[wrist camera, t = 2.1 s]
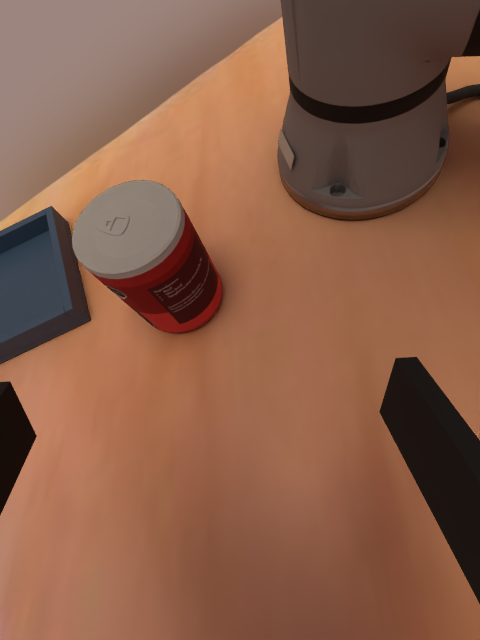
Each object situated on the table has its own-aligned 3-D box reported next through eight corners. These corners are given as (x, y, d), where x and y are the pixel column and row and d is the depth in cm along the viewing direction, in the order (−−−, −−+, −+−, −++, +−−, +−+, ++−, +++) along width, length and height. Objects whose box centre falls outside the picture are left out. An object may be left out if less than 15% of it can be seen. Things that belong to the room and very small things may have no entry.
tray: (68, 222, 41) (51, 205, 39) (90, 320, 35) (72, 308, 33) (-54, 281, 42) (-78, 269, 39) (-52, 388, 36) (-80, 381, 33)
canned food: (146, 267, 36) (79, 189, 26) (224, 256, 35) (184, 168, 25) (140, 340, 33) (60, 281, 23) (225, 331, 32) (178, 265, 22)
